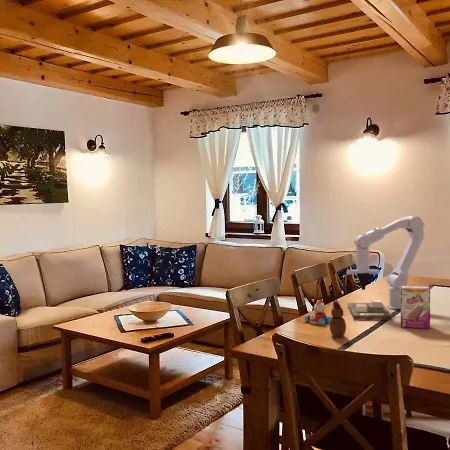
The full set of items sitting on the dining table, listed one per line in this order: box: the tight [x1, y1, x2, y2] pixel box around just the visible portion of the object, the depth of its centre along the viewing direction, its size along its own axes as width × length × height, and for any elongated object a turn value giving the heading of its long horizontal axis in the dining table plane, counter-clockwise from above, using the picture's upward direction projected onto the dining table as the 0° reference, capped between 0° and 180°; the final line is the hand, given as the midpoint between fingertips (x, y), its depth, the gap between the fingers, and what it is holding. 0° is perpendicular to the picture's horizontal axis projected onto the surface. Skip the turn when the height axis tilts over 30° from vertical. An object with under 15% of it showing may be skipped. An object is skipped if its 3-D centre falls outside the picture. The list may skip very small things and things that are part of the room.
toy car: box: [304, 299, 332, 326], centre depth 210 cm, size 9×9×10 cm
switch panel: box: [347, 302, 393, 321], centre depth 222 cm, size 16×24×2 cm, turn 172°
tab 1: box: [356, 304, 367, 312], centre depth 218 cm, size 4×4×2 cm
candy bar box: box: [400, 285, 431, 330], centre depth 197 cm, size 11×5×16 cm, turn 71°
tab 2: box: [370, 299, 383, 308], centre depth 224 cm, size 4×4×2 cm
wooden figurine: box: [329, 296, 347, 338], centre depth 189 cm, size 7×6×15 cm
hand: (363, 289), depth 230 cm, fingers closed
